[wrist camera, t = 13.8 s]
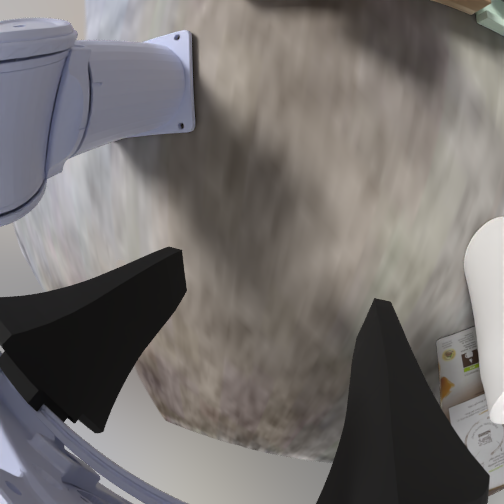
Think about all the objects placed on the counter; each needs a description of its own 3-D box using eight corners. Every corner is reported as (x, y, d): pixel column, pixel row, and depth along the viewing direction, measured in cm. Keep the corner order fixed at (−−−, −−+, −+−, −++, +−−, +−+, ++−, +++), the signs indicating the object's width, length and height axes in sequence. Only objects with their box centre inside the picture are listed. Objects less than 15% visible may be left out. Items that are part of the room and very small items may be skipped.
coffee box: (433, 339, 20) (433, 507, 8) (490, 318, 17) (518, 480, 4) (439, 384, 23) (433, 512, 10) (486, 369, 20) (494, 495, 7)
